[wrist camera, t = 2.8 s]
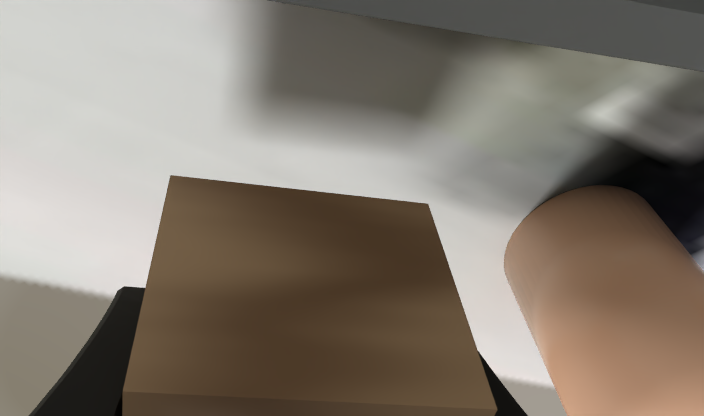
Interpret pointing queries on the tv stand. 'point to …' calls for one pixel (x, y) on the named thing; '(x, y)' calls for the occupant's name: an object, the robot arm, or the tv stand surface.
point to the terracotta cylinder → (611, 304)
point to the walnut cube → (300, 309)
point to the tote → (558, 23)
